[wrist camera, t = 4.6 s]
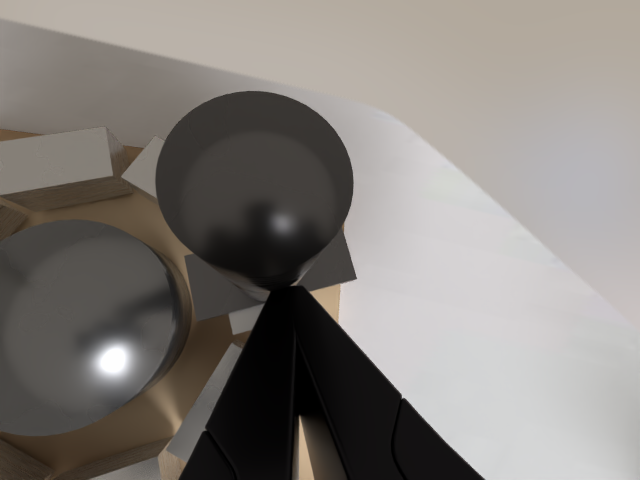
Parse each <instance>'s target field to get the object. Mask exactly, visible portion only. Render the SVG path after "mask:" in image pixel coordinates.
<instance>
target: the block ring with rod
mask: <svg viewBox="0 0 640 480" xmlns="http://www.w3.org/2000/svg"><path fill="white" fill-rule="evenodd" d="M133 188H134V189H135V190H136V191H137V192H138V193H139V194H140V195H142V196H143V197H145V198H147V199H148V200H150V201H152V202H153V203H155V204H157V205H159V207H160V210H161V212H162V215H163V217H164V219H165V221H166V223H167V224H168V226H169V228H170V229H171V231H172V232H173V233H174V235H175V236H176V237H177V238H178V239H179V241H180V242H181V243H182V244H184V245H185V246H186V247H187V248H188V249H189V250H190V251H191V252H193V253H194V254H189V255H185V256H184V258H185V263H186V269H187V274H188V279H189V284H190V289H191V295H192V300H193V305H194V310H195V315H196V321H204V320H207V319H211V318H215V317H219V316H222V315H226V314H229V318H230V323H231V328H232V333H233V335H235V334H238V333H242V332H245V331H249V330H252V328H253V326H254V324H255V322H256V320H257V318H258V316H259V314H260V312H261V310H262V308H263V306H264V304H265V301H266V299H267V297H268V295H269V293H270V291H274V290H279V289H282V288H285V287H288V286H294V285H303V286H304V287H305V288H306V289H307V290H308V291H309V292H313V291H316V290H320V289H324V288H328V287H331V286H335V285H339V284H343V283H346V282H350V281H353V280H356V279H357V277H356V274H355V270H354V267H353V264H352V260H351V257H350V253H349V250H348V246H347V243H346V239H345V236H344V232H343V229H342V225H343V223H344V221H345V219H346V217H347V215H348V212H349V209H350V206H351V201H352V196H353V171H352V166H351V162H350V158H349V156H348V153H347V150H346V148H345V146H344V144H343V142H342V140H341V139H340V137H339V136H338V134H337V133H336V131H335V130H334V129H333V128H332V127H331V125H330V124H329V123H328V122H327V121H326V120H325V119H324V118H323V117H321V116H320V115H319V114H318V113H317V112H315V111H314V110H312V109H311V108H309V107H308V106H306V105H304V104H302V103H300V102H298V101H296V100H294V99H291V98H289V97H286V96H282V95H279V94H275V93H269V92H260V91H246V92H236V93H231V94H226V95H223V96H220V97H217V98H214V99H211V100H209V101H207V102H205V103H203V104H201V105H200V106H198V107H196V108H195V109H193V110H192V111H191V112H189V113H188V114H187V115H186V116H184V117H183V118H182V119H181V120H180V121H179V122H178V124H177V125H176V126H175V127H174V128H173V130H172V131H171V132H170V134H169V135H168V137H167V139H166V141H164V140H162V139H160V138H159V137H157V136H154V138H153V139H152V140H151V141H150V142H149V144H148V145H147V146H146V147H145V148H144V150H143V151H142V152H141V153H140V154H139V155H138V157H137V158H136V159H135V160H134V161H133V163H132V164H131V165H130V166H129V162H128V156H127V150H126V149H125V148H124V147H123V146H122V145H121V143H120V142H119V141H118V140H117V139H116V138H115V137H114V136H113V134H112V133H111V132H110V131H109V130H108V129H107V128H106V127H105V126H104V127H97V128H90V129H83V130H76V131H69V132H62V133H56V134H49V135H42V136H35V137H28V138H21V139H15V140H8V141H1V142H0V197H2V198H4V199H6V200H9V201H11V202H13V203H16V204H18V205H20V206H22V207H25V208H27V209H29V210H32V211H34V212H38V211H43V210H49V209H54V208H59V207H65V206H70V205H75V204H81V203H86V202H92V201H97V200H102V199H108V198H113V197H119V196H124V195H129V194H134V192H133ZM27 217H28V215H27V214H25V213H23V212H21V211H20V210H18V209H16V208H15V207H13V206H11V205H10V204H8V203H6V202H5V201H3V200H1V199H0V242H1V241H2V240H4V239H6V238H7V237H9V236H11V235H12V233H13V232H14V231H15V230H16V229H17V228H18V227H19V226H20V225H21V223H22V222H23V221H24V220H25V219H26V218H27ZM244 345H245V343H243V342H241V341H240V340H238V339H236V340H235V341H234V342H232V343H231V345H230V346H229V348H228V349H227V351H226V353H225V354H224V356H223V358H222V359H221V361H220V362H219V364H218V366H217V367H216V369H215V371H214V372H213V374H212V375H211V377H210V379H209V380H208V382H207V383H206V385H205V387H204V388H203V390H202V392H201V393H200V395H199V396H198V398H197V400H196V401H195V403H194V405H193V406H192V408H191V409H190V411H189V413H188V414H187V416H186V418H185V419H184V421H183V422H182V424H181V426H180V427H179V429H178V430H177V432H176V434H175V435H174V436H171V437H168V438H165V439H162V440H159V441H156V442H153V443H150V444H147V445H143V446H140V447H137V448H134V449H131V450H128V451H125V452H122V453H119V454H116V455H113V456H110V457H107V458H104V459H101V460H98V461H94V462H91V463H88V464H85V465H82V466H79V467H76V468H73V469H70V470H67V471H64V472H62V473H61V474H60V475H58V476H57V477H56V478H54V479H53V480H178V479H179V477H180V475H181V469H180V463H179V459H181V460H183V461H185V462H186V463H187V461H188V459H189V458H190V456H191V454H192V451H193V449H194V447H195V445H196V443H197V441H198V439H199V437H200V435H201V433H202V432H203V431H206V430H205V425H206V423H207V421H208V419H209V417H210V415H211V413H212V411H213V409H214V407H215V405H216V402H217V400H218V398H219V396H220V394H221V392H222V390H223V388H224V386H225V384H226V382H227V380H228V378H229V376H230V374H231V372H232V370H233V367H234V365H235V363H236V361H237V359H238V357H239V355H240V353H241V351H242V349H243V347H244ZM54 472H55V471H54V470H53V469H51V468H49V467H47V466H46V465H44V464H42V463H41V462H39V461H37V460H35V459H34V458H32V457H30V456H29V455H27V454H25V453H23V452H22V451H20V450H18V449H17V448H15V447H13V446H12V445H10V444H8V443H6V442H5V441H3V440H1V439H0V480H49V479H50V478H51V477H52V475H53V474H54Z"/></svg>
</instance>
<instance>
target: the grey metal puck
mask: <svg viewBox="0 0 640 480" xmlns="http://www.w3.org/2000/svg"><path fill="white" fill-rule="evenodd" d="M191 322H192V302H191V296H190V292H189V289H188V286H187V283H186V281H185V279H184V277H183V275H182V273H181V272H180V271H179V269H178V268H177V266H176V265H175V264H174V263H173V262H172V261H171V260H170V259H169V258H168V257H167V256H165V255H164V254H163V253H162V252H160V251H158V250H157V249H155V248H153V247H152V246H150V245H148V244H146V243H144V242H143V241H141V240H139V239H137V238H136V237H134V236H132V235H130V234H129V233H127V232H125V231H123V230H121V229H118V228H116V227H114V226H111V225H108V224H104V223H101V222H95V221H89V220H75V219H72V220H58V221H52V222H47V223H42V224H39V225H36V226H32V227H29V228H27V229H24V230H22V231H19V232H17V233H15V234H13V235H11V236H9V237H7V238H6V239H4V240H2V241H1V242H0V431H2V432H7V433H11V434H15V435H23V436H49V435H56V434H62V433H66V432H70V431H73V430H77V429H80V428H82V427H85V426H87V425H90V424H92V423H94V422H96V421H98V420H100V419H102V418H103V417H105V416H107V415H109V414H111V413H112V412H114V411H115V410H117V409H119V408H120V407H122V406H124V405H125V404H127V403H129V402H130V401H132V400H133V399H135V398H137V397H138V396H140V395H142V394H143V393H145V392H146V391H148V390H149V389H151V388H152V387H153V386H155V385H156V384H157V383H158V382H159V381H160V380H161V379H162V378H163V377H165V375H166V374H167V373H168V372H169V371H170V370H171V368H172V367H173V366H174V364H175V363H176V361H177V360H178V358H179V357H180V355H181V353H182V351H183V349H184V347H185V345H186V342H187V339H188V337H189V333H190V328H191Z"/></svg>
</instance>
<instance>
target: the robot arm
mask: <svg viewBox="0 0 640 480" xmlns="http://www.w3.org/2000/svg"><path fill="white" fill-rule="evenodd" d="M401 399H402V400H401ZM300 419H301V423H302V427H303V432H304V436H305V441H306V445H307V449H308V454H309V458H310V463H311V467H312V471H313V476H314V480H485V479H484V478H483V477H482V476H481V475H480V474H479V473H477V472H476V471H475V470H474V469H473V468H472V467H471V466H470V465H469V464H468V463H467V462H466V461H465V460H464V459H463V458H462V457H461V456H460V455H459V454H458V453H457V452H456V451H454V450H453V449H452V448H451V447H450V446H449V445H448V444H447V443H446V442H445V441H444V440H443V439H442V438H441V437H440V435H439V434H438V433H437V432H436V431H435V430H434V429H433V428H432V427H431V426H430V425H429V424H428V423H427V422H426V421H425V420H424V419H423V418H422V416H421V415H420V414H419V413H418V412H417V411H416V410H415V409H414V408H413V406H412V405H411V404H410V403H409V402H408V401H407V400H406V399H405V398H402V395H401V393H400V392H399V391H398V390H397V389H396V388H395V387H394V385H393V384H392V383H391V382H390V381H389V380H388V379H387V378H386V377H385V375H384V374H383V373H382V372H381V371H380V370H379V369H378V368H377V367H376V365H375V364H374V363H373V362H372V361H371V360H370V359H369V358H368V357H367V355H366V354H365V353H364V352H363V351H362V350H361V349H360V348H359V347H358V345H357V344H356V343H355V342H354V341H353V340H352V339H351V338H350V337H349V335H348V334H347V333H346V332H345V331H344V330H343V329H342V328H341V326H340V325H339V324H338V323H337V322H336V321H335V320H334V319H333V318H332V316H331V315H330V314H329V313H328V312H327V311H326V310H325V309H324V308H323V306H322V305H321V304H320V303H319V302H318V301H317V300H316V299H315V298H314V296H313V295H312V294H311V293H310V292H309V291H308V290H307V289H306V288H305V287H304V286H303V285H294V286H288V287H285V288H282V289H279V290H274V291H270V293H269V295H268V297H267V299H266V301H265V304H264V306H263V308H262V310H261V312H260V314H259V316H258V318H257V320H256V322H255V324H254V326H253V328H252V330H251V332H250V334H249V337H248V339H247V341H246V343H245V345H244V347H243V349H242V351H241V353H240V355H239V357H238V359H237V361H236V363H235V365H234V367H233V370H232V372H231V374H230V376H229V378H228V380H227V382H226V384H225V386H224V388H223V390H222V392H221V394H220V396H219V398H218V400H217V402H216V405H215V407H214V409H213V411H212V413H211V415H210V417H209V419H208V421H207V423H206V425H205V430H206V431H203V432H202V433H201V435H200V437H199V439H198V441H197V443H196V445H195V447H194V449H193V451H192V454H191V456H190V458H189V459H188V461H187V463H186V465H185V467H184V469H183V471H182V473H181V475H180V477H179V479H178V480H299V427H300Z"/></svg>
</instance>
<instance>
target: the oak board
mask: <svg viewBox="0 0 640 480" xmlns="http://www.w3.org/2000/svg"><path fill="white" fill-rule="evenodd" d="M35 136H42V135H41V134H33V133H26V132H18V131H11V130H3V129H0V142H1V141H8V140H15V139H21V138H28V137H35ZM122 146H123V145H122ZM123 147H124V148H125V149H126V150H127V156H128V162H129V166H130V165H131V164H132V163H133V161H134V160H135V159H136V158H137V157H138V155H139V154H140V153H141V152H142V151H143V150H144V148H138V147H131V146H123ZM133 192H134V194H129V195H124V196H119V197H113V198H108V199H102V200H97V201H92V202H86V203H81V204H75V205H70V206H65V207H59V208H54V209H49V210H43V211H38V212H34V211H32V210H29V209H27V208H25V207H22V206H20V205H18V204H16V203H13V202H11V201H9V200H6V199H4V198H2V197H0V199H1V200H3V201H5V202H6V203H8V204H10V205H11V206H13V207H15V208H16V209H18V210H20V211H21V212H23V213H25V214H27V215H28V217H27V218H26V219H25V220H24V221H23V222H22V223H21V225H20V226H19V227H18V228H17V229H16V230H15V231H14V232H13V233H12V235H13V234H15V233H17V232H19V231H22V230H24V229H27V228H29V227H32V226H36V225H39V224H42V223H47V222H52V221H58V220H72V219H75V220H89V221H95V222H101V223H104V224H108V225H111V226H114V227H116V228H118V229H121V230H123V231H125V232H127V233H129V234H130V235H132V236H134V237H136V238H137V239H139V240H141V241H143V242H144V243H146V244H148V245H150V246H152V247H153V248H155V249H157V250H158V251H160V252H162V253H163V254H164V255H165V256H167V257H168V258H169V259H170V260H171V261H172V262H173V263H174V264H175V265H176V266H177V268H178V269H179V271H180V272H181V273H182V275H183V277H184V279H185V281H186V283H187V286H188V289H189V292H190V296H191V302H192V322H191V328H190V333H189V337H188V339H187V342H186V345H185V347H184V349H183V351H182V353H181V355H180V357H179V358H178V360H177V361H176V363H175V364H174V366H173V367H172V368H171V370H170V371H169V372H168V373H167V374H166V375H165V377H163V378H162V379H161V380H160V381H159V382H158V383H157V384H156V385H155V386H153V387H152V388H151V389H149V390H148V391H146V392H145V393H143V394H142V395H140V396H138V397H137V398H135V399H133V400H132V401H130V402H129V403H127V404H125V405H124V406H122V407H120V408H119V409H117V410H115V411H114V412H112V413H111V414H109V415H107V416H105V417H103V418H102V419H100V420H98V421H96V422H94V423H92V424H90V425H87V426H85V427H82V428H80V429H77V430H73V431H70V432H66V433H62V434H56V435H49V436H23V435H15V434H11V433H7V432H2V431H0V439H1V440H3V441H5V442H6V443H8V444H10V445H12V446H13V447H15V448H17V449H18V450H20V451H22V452H23V453H25V454H27V455H29V456H30V457H32V458H34V459H35V460H37V461H39V462H41V463H42V464H44V465H46V466H47V467H49V468H51V469H53V470H54V471H55V472H54V474H53V475H52V477H51V478H50V479H49V480H53V479H54V478H56V477H57V476H58V475H60V474H61V473H62V472H64V471H67V470H70V469H73V468H76V467H79V466H82V465H85V464H88V463H91V462H94V461H98V460H101V459H104V458H107V457H110V456H113V455H116V454H119V453H122V452H125V451H128V450H131V449H134V448H137V447H140V446H143V445H147V444H150V443H153V442H156V441H159V440H162V439H165V438H168V437H171V436H174V435H175V434H176V432H177V430H178V429H179V427H180V426H181V424H182V422H183V421H184V419H185V418H186V416H187V414H188V413H189V411H190V409H191V408H192V406H193V405H194V403H195V401H196V400H197V398H198V396H199V395H200V393H201V392H202V390H203V388H204V387H205V385H206V383H207V382H208V380H209V379H210V377H211V375H212V374H213V372H214V371H215V369H216V367H217V366H218V364H219V362H220V361H221V359H222V358H223V356H224V354H225V353H226V351H227V349H228V348H229V346H230V345H231V343H232V342H234V341H235V340H236V339H238V340H240V341H241V342H243V343H246V341H247V339H248V337H249V334H250V332H251V330H249V331H245V332H242V333H238V334H235V335H233V333H232V328H231V323H230V318H229V314H226V315H222V316H219V317H215V318H211V319H207V320H204V321H196V315H195V310H194V305H193V300H192V295H191V289H190V284H189V279H188V274H187V269H186V263H185V258H184V256H185V255H189V254H194V253H193V252H191V251H190V250H189V249H188V248H187V247H186V246H185V245H184V244H182V243H181V242H180V241H179V239H178V238H177V237H176V236H175V235H174V233H173V232H172V231H171V229H170V228H169V226H168V224H167V223H166V221H165V219H164V217H163V215H162V212H161V210H160V207H159V205H157V204H155V203H153V202H152V201H150V200H148V199H147V198H145V197H143V196H142V195H140V194H139V193H138V192H137V191H136V190H135V189H134V188H133ZM342 229H343V232H344V223H343V225H342ZM310 293H311V294H312V295H313V296H314V298H315V299H316V300H317V301H318V302H319V303H320V304H321V305H322V306H323V308H324V309H325V310H326V311H327V312H328V313H329V314H330V315H331V316H332V318H333V319H334V320H335V321H336V322H337V323H338V317H339V300H340V284H339V285H335V286H331V287H328V288H324V289H320V290H316V291H313V292H310ZM179 463H180V469H181V473H182V471H183V469H184V467H185V465H186V462H185V461H183V460H181V459H179ZM299 480H314V476H313V471H312V467H311V463H310V458H309V454H308V449H307V445H306V441H305V436H304V432H303V427H302V423H301V419H300V427H299Z"/></svg>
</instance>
